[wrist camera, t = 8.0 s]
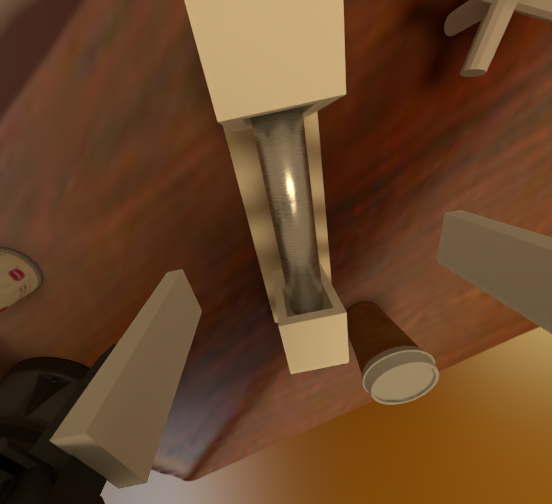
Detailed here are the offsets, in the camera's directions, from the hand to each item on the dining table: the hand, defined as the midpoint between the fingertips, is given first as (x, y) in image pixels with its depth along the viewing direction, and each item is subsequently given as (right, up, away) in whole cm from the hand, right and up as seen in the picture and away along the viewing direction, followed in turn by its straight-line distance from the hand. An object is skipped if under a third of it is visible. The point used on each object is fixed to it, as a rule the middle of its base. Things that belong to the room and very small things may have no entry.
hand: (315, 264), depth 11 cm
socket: (-3, +17, +10) cm, 21 cm away
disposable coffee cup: (+13, -10, +26) cm, 31 cm away
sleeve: (+2, -5, +22) cm, 23 cm away
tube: (-1, +6, +10) cm, 12 cm away
